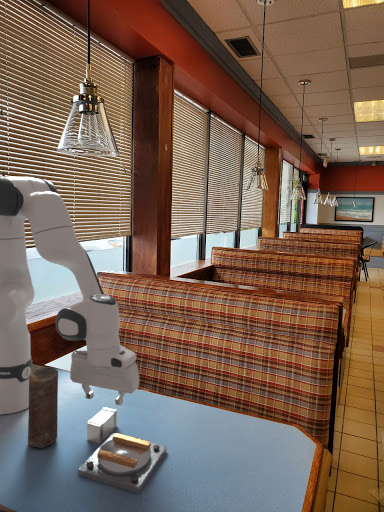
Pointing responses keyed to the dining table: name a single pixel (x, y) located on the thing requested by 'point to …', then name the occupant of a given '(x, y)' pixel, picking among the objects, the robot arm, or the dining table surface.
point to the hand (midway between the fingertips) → (104, 401)
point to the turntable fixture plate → (123, 462)
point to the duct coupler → (101, 425)
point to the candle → (43, 407)
